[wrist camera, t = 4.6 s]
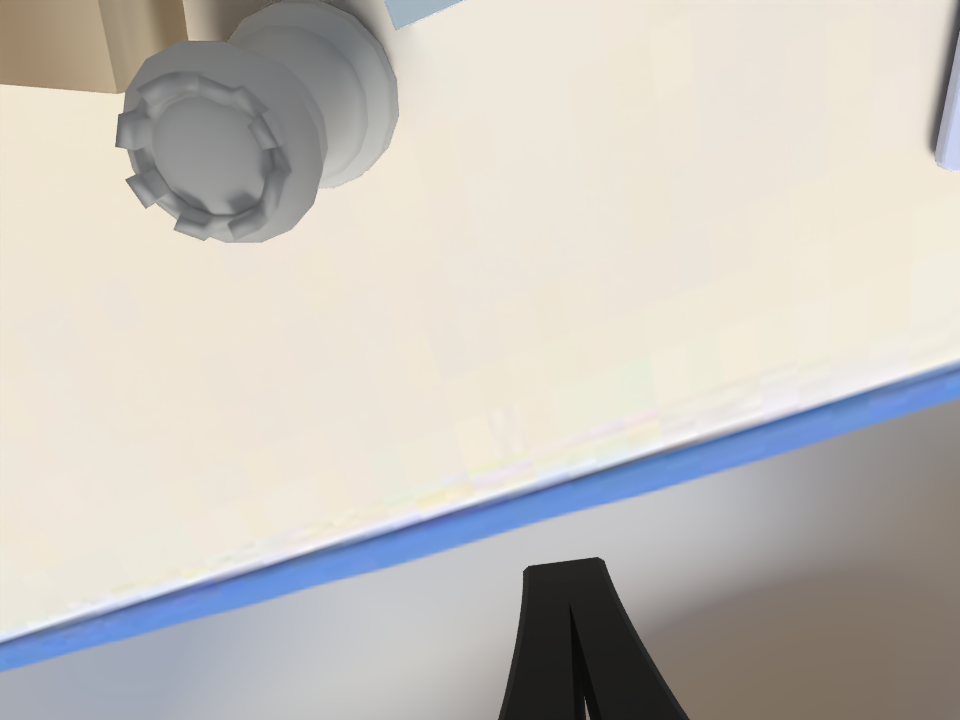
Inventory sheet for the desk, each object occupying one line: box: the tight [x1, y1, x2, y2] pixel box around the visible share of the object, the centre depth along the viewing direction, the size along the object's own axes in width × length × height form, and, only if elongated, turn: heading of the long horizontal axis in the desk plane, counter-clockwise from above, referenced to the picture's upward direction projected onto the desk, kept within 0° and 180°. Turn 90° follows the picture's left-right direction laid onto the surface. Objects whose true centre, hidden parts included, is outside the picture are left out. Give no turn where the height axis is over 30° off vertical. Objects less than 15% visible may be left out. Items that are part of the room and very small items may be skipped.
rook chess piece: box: [115, 0, 399, 243], centre depth 13 cm, size 4×4×8 cm
